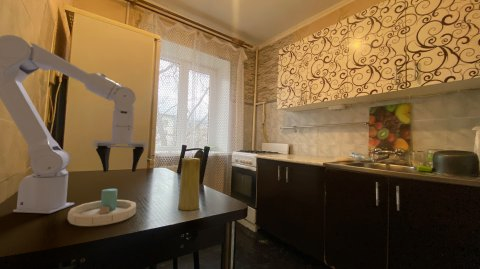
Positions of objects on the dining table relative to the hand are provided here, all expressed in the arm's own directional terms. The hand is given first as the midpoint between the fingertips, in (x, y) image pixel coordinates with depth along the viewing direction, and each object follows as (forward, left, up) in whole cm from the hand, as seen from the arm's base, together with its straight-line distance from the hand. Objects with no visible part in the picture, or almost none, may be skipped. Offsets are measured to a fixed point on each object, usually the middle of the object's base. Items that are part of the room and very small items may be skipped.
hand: (120, 171), depth 64 cm
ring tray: (+3, -11, -9) cm, 15 cm away
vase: (+22, -2, -10) cm, 24 cm away
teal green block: (+2, -8, -9) cm, 12 cm away
